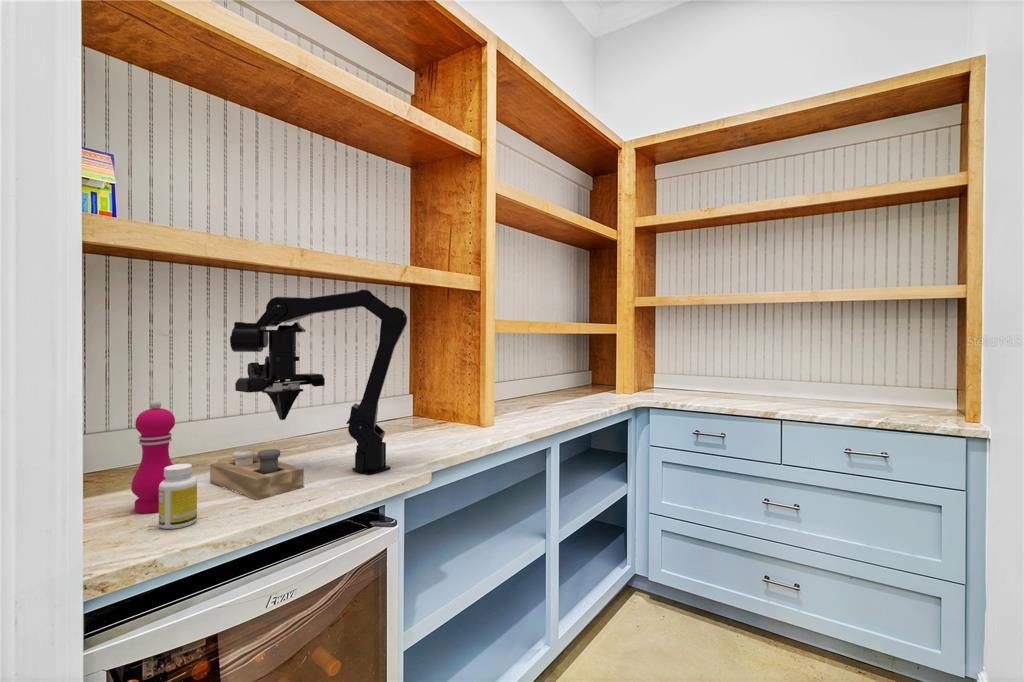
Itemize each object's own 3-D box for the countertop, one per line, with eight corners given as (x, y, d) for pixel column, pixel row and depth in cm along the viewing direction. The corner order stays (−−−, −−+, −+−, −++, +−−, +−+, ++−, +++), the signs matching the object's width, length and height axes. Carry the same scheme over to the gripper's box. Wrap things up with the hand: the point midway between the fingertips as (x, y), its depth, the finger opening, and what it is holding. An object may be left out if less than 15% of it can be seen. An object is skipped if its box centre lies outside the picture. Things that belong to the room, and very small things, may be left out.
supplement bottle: (204, 518, 87) (204, 462, 87) (182, 530, 82) (182, 471, 82) (174, 517, 87) (174, 462, 87) (150, 529, 82) (150, 470, 82)
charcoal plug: (273, 475, 106) (273, 448, 106) (284, 478, 104) (284, 451, 104) (253, 480, 103) (253, 452, 103) (264, 483, 100) (264, 455, 100)
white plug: (248, 474, 112) (248, 448, 112) (258, 477, 110) (258, 451, 109) (229, 478, 109) (229, 451, 108) (239, 481, 106) (239, 454, 106)
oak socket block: (255, 472, 116) (255, 455, 116) (303, 487, 105) (303, 468, 105) (210, 482, 108) (210, 464, 107) (256, 500, 97) (256, 479, 97)
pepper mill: (183, 507, 92) (182, 400, 92) (134, 517, 87) (134, 404, 87) (174, 498, 97) (174, 396, 97) (128, 507, 92) (128, 399, 92)
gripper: (299, 350, 127) (299, 411, 127) (222, 352, 111) (222, 421, 111) (326, 351, 120) (326, 415, 120) (248, 353, 105) (248, 427, 105)
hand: (282, 419), depth 115 cm, fingers closed
